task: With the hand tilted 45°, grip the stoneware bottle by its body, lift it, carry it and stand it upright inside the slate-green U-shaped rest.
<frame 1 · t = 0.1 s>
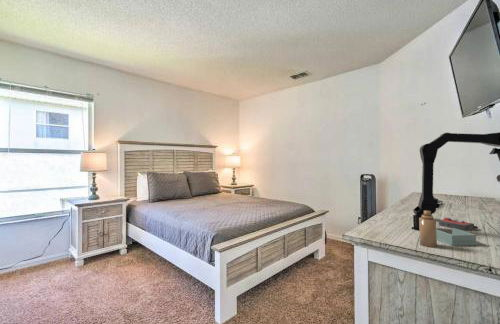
u rest: (454, 241, 96), on the dresser top
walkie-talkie: (450, 226, 118), on the dresser top
bottle: (428, 245, 92), on the dresser top
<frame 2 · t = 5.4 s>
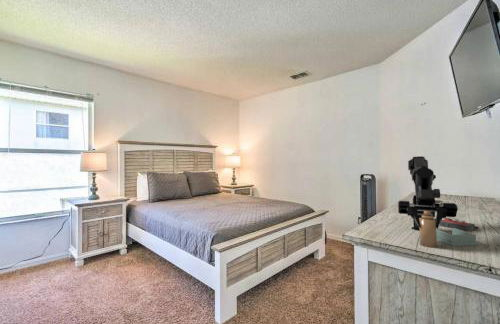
hand: (428, 227, 91), 7 cm above the dresser top, tool tilted 45°, fingers closed on bottle, 5 cm apart
bottle: (428, 245, 92), on the dresser top, touching gripper
everything else where it was.
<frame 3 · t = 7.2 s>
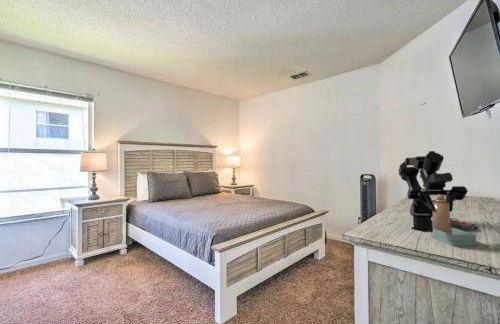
hand: (442, 210, 92), 13 cm above the dresser top, tool tilted 45°, fingers closed on bottle, 5 cm apart
bottle: (441, 228, 93), point 6 cm above the dresser top, touching gripper
everything else where it was.
when the fingers open (9 cm above the dresser top, at t = 9.0 s): bottle stays where it is, resting on u rest.
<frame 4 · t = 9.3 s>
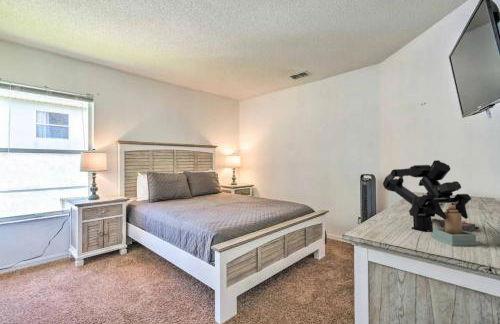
hand: (456, 218, 94), 9 cm above the dresser top, tool tilted 45°, fingers open, 8 cm apart
bottle: (453, 238, 96), point 1 cm above the dresser top, touching u rest
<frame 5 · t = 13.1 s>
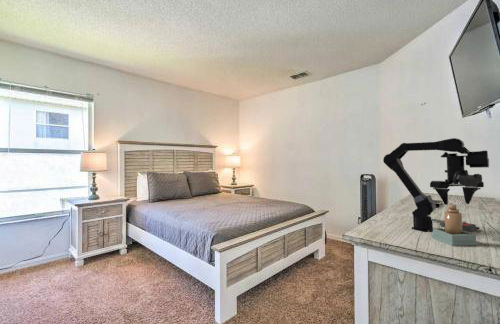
hand: (456, 204, 104), 13 cm above the dresser top, tool pointing down, fingers open, 9 cm apart
at the end: bottle 0.1 cm off-centre on the u rest, point 1.2 cm above the u rest's base; bottle tilted 1°; the gripper is holding nothing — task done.
